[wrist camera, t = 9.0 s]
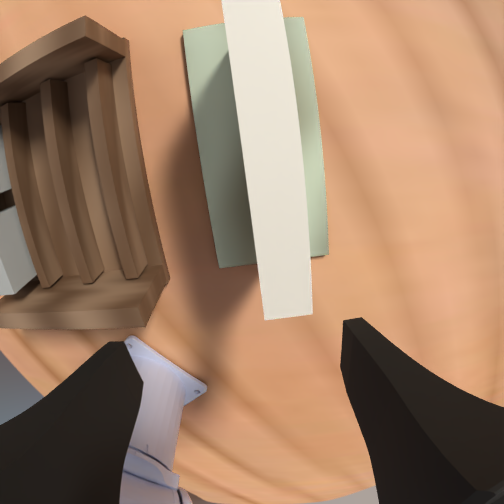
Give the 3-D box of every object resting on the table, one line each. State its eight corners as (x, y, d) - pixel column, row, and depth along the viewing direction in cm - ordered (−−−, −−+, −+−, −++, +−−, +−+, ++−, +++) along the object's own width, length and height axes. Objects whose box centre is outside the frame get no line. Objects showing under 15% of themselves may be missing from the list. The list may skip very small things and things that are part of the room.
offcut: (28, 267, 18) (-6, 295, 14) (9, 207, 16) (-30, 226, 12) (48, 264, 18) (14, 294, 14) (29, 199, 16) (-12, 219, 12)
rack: (30, 292, 20) (-7, 329, 15) (-13, 110, 14) (-63, 115, 9) (327, 259, 19) (355, 306, 14) (300, 12, 13) (322, -31, 8)
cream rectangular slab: (257, 243, 18) (264, 320, 11) (231, 46, 14) (219, -16, 6) (286, 239, 18) (312, 313, 11) (262, 42, 14) (275, -22, 6)
